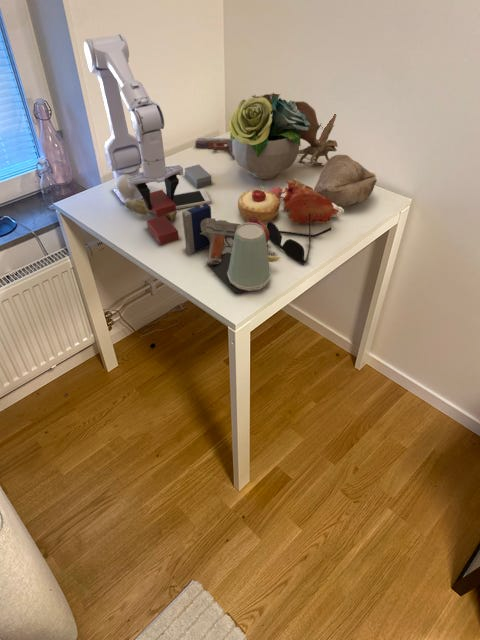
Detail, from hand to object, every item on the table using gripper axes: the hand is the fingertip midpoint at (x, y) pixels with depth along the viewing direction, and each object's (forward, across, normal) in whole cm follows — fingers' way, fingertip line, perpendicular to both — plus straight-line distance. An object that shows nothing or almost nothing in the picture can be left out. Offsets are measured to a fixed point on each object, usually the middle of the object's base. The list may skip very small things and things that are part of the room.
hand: (159, 205), depth 129 cm
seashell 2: (+9, +54, -11) cm, 56 cm away
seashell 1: (+2, +32, -11) cm, 34 cm away
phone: (+9, +8, -25) cm, 28 cm away
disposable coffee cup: (-6, +10, -31) cm, 33 cm away
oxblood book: (0, 0, 0) cm, 0 cm away
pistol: (+11, +11, -20) cm, 26 cm away
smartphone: (+9, +12, +13) cm, 20 cm away
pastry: (+9, +28, -5) cm, 30 cm away
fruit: (+9, +18, -19) cm, 28 cm away
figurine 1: (+8, 0, +9) cm, 12 cm away
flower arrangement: (+9, +42, +15) cm, 46 cm away
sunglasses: (+9, +31, -23) cm, 39 cm away
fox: (+6, +14, -27) cm, 31 cm away
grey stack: (+9, +22, +23) cm, 33 cm away
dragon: (+8, +58, +12) cm, 59 cm away
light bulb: (+9, -3, +17) cm, 19 cm away
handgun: (+7, +35, +32) cm, 48 cm away
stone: (+9, +14, -8) cm, 18 cm away
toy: (+9, +22, -22) cm, 32 cm away
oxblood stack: (+9, 0, 0) cm, 9 cm away
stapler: (+5, +45, -14) cm, 47 cm away
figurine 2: (+9, +34, -5) cm, 35 cm away
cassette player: (+9, +6, -11) cm, 15 cm away
